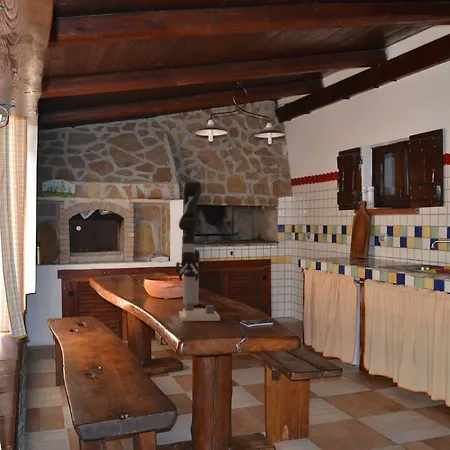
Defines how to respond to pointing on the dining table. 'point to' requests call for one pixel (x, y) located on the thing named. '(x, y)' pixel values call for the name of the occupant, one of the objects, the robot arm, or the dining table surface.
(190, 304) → the tab
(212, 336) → the dining table surface
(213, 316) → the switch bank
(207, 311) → the tab
